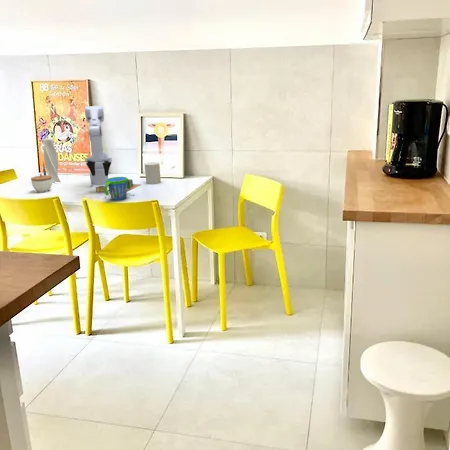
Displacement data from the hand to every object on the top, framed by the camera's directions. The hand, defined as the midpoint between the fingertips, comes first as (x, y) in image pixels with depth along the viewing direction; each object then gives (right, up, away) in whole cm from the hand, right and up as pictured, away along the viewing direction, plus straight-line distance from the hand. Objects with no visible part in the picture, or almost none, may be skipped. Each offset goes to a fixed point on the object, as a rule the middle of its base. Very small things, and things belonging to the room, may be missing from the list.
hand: (100, 175), depth 256 cm
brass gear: (0, -9, +3) cm, 10 cm away
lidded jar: (-35, -7, +14) cm, 39 cm away
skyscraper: (-37, -1, +36) cm, 51 cm away
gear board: (+11, -7, +9) cm, 16 cm away
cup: (+25, -3, +19) cm, 32 cm away
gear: (+12, -5, +11) cm, 17 cm away
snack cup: (+12, -13, -10) cm, 20 cm away
